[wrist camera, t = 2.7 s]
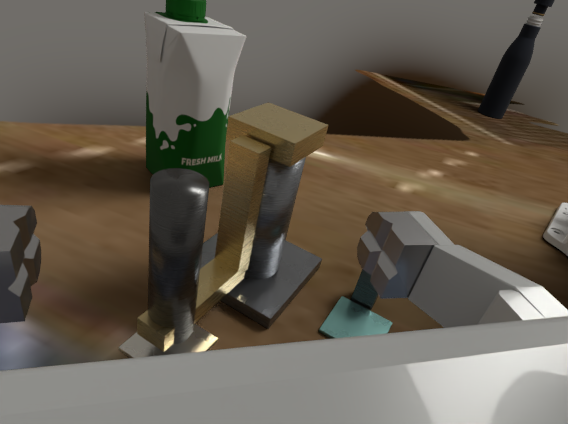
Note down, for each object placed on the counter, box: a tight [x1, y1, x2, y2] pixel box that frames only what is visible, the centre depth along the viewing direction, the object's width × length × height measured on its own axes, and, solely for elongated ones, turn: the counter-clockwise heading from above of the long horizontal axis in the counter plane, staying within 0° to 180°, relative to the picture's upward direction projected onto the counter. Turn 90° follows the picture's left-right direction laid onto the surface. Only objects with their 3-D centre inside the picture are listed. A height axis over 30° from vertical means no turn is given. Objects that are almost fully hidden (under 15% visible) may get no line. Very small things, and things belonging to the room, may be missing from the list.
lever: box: [137, 103, 328, 352], centre depth 30 cm, size 16×6×13 cm, turn 150°
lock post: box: [118, 157, 392, 358], centre depth 31 cm, size 18×18×13 cm
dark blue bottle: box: [478, 0, 554, 119], centre depth 101 cm, size 6×6×30 cm
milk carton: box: [144, 0, 246, 187], centre depth 46 cm, size 9×9×20 cm
